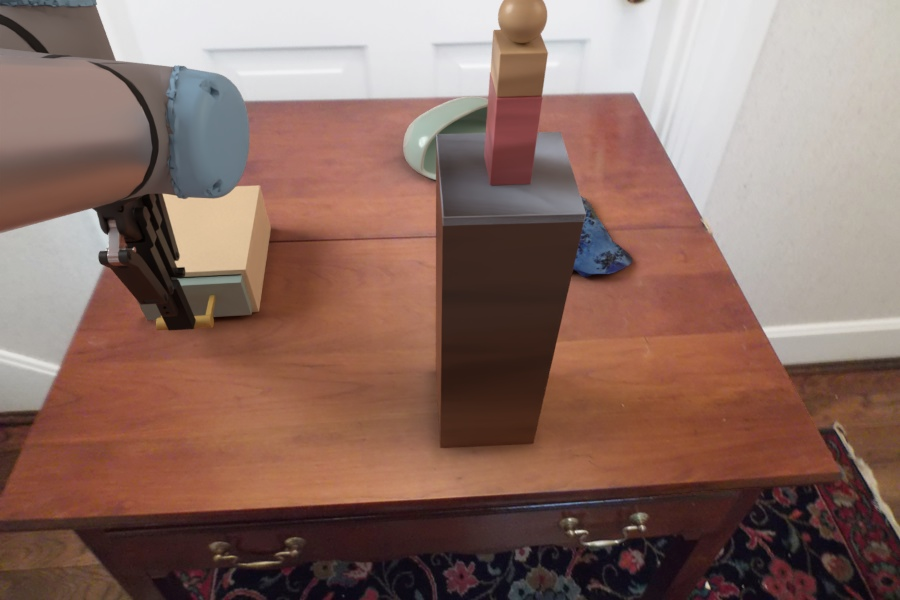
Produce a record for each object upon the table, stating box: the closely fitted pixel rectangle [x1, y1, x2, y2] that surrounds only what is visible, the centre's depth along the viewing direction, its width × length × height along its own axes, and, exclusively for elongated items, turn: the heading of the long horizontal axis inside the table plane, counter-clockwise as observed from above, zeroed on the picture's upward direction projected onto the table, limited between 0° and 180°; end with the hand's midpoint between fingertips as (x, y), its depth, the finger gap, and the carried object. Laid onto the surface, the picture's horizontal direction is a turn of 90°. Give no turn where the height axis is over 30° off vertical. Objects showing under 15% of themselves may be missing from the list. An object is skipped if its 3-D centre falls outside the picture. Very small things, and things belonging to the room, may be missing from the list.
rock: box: [573, 195, 633, 278], centre depth 89 cm, size 15×17×2 cm
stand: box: [435, 131, 586, 449], centre depth 60 cm, size 10×10×32 cm
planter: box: [402, 95, 488, 181], centre depth 101 cm, size 19×7×16 cm
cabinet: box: [163, 184, 272, 313], centre depth 82 cm, size 16×14×8 cm
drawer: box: [135, 274, 253, 331], centre depth 79 cm, size 19×12×6 cm, turn 5°
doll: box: [484, 0, 549, 185], centre depth 43 cm, size 4×3×13 cm
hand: (182, 325), depth 72 cm, fingers closed
